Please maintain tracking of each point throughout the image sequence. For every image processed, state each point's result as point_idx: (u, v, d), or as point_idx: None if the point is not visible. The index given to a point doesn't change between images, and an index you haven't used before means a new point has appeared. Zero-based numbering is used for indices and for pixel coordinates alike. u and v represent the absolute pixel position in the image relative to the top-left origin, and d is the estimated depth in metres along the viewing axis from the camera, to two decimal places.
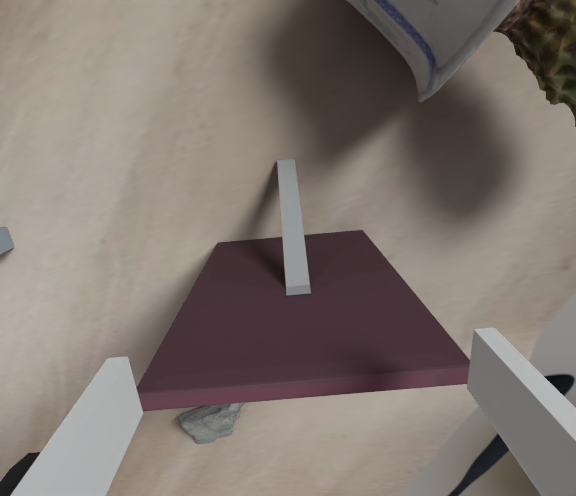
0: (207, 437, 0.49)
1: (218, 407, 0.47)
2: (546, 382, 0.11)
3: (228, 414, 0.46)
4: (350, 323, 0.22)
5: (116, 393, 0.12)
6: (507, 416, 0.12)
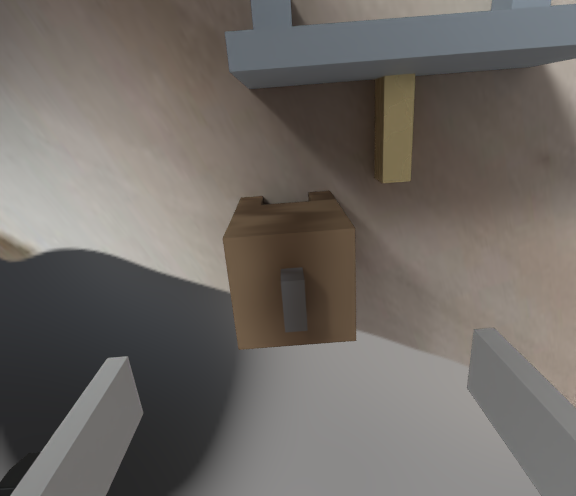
0: None
1: None
2: (546, 383, 0.11)
3: None
4: None
5: (116, 393, 0.12)
6: (507, 416, 0.12)
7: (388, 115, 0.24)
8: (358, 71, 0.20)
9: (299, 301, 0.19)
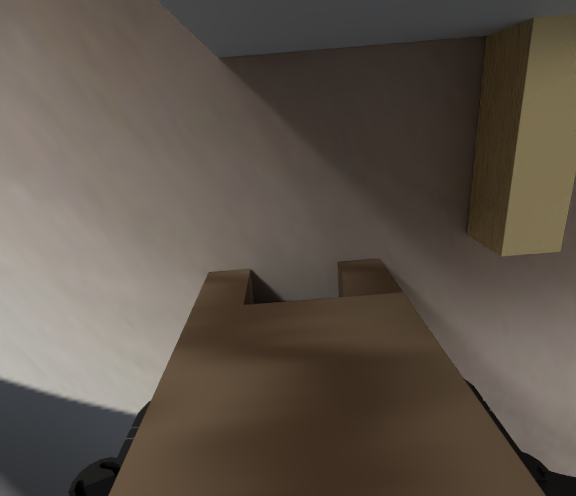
0: None
1: None
2: None
3: None
4: None
5: None
6: None
7: (530, 112, 0.11)
8: None
9: None
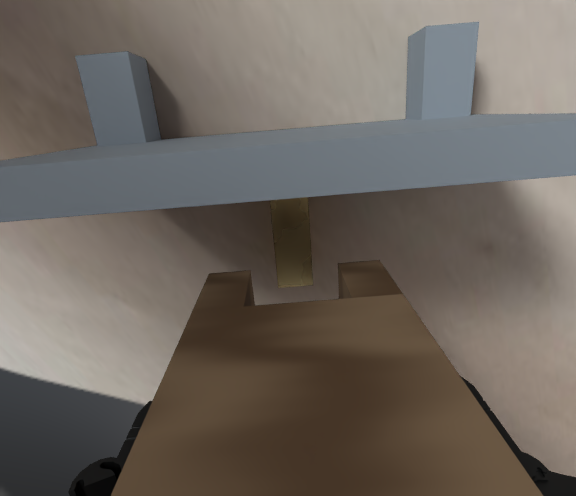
0: None
1: None
2: None
3: None
4: None
5: None
6: None
7: (276, 210, 0.19)
8: None
9: None
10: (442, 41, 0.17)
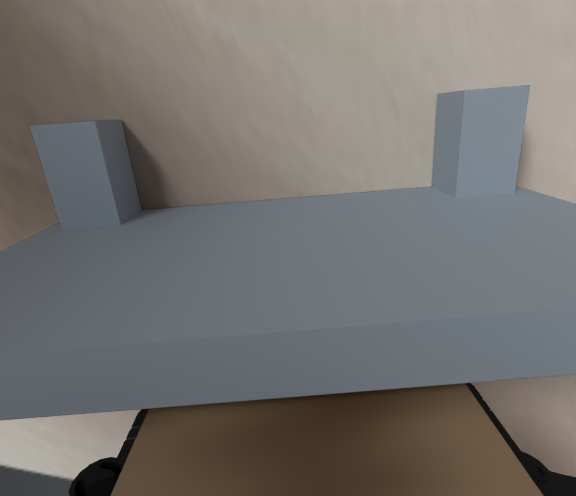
0: None
1: None
2: None
3: None
4: None
5: None
6: None
7: None
8: None
9: None
10: (484, 108, 0.13)
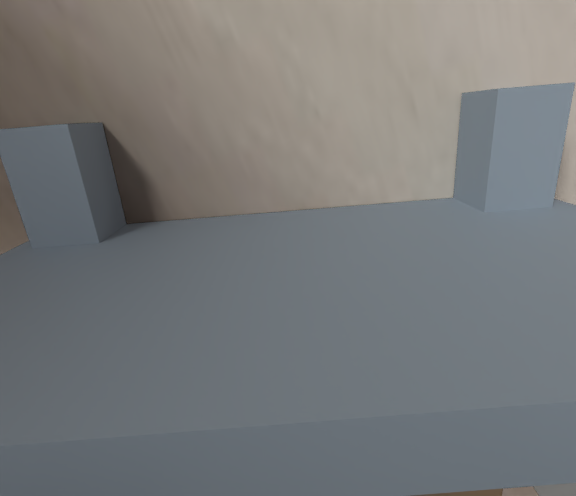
0: None
1: None
2: None
3: None
4: None
5: None
6: None
7: None
8: None
9: None
10: (520, 109, 0.12)
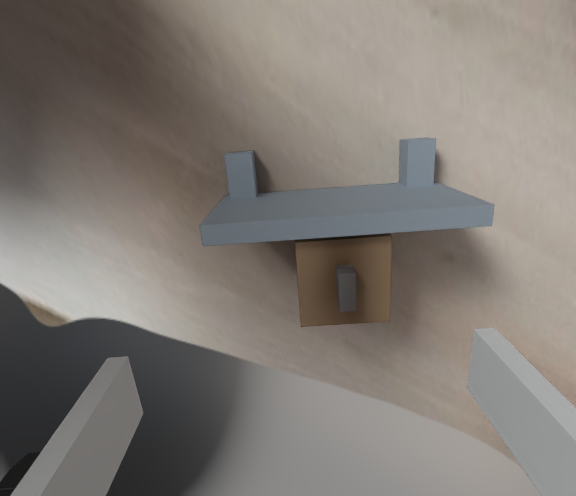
0: None
1: None
2: (546, 382, 0.11)
3: None
4: None
5: (116, 393, 0.12)
6: (507, 417, 0.12)
7: None
8: None
9: (351, 288, 0.26)
10: (417, 148, 0.31)
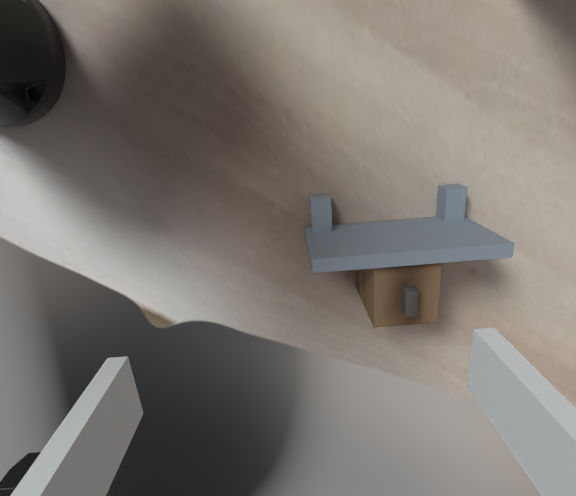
0: None
1: None
2: (546, 383, 0.11)
3: None
4: None
5: (116, 392, 0.12)
6: (507, 417, 0.12)
7: None
8: None
9: (414, 301, 0.37)
10: (453, 194, 0.43)
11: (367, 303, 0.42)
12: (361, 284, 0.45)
